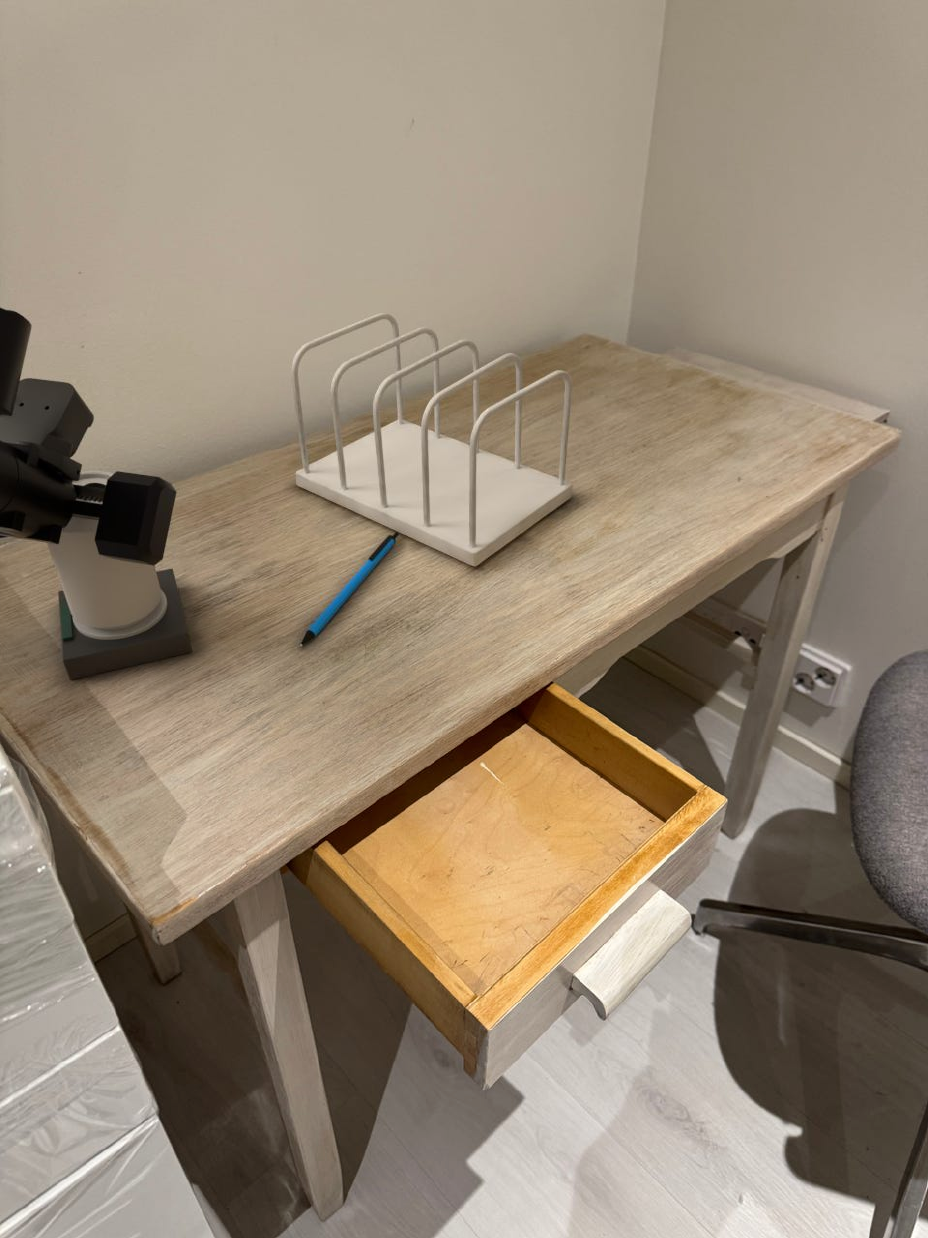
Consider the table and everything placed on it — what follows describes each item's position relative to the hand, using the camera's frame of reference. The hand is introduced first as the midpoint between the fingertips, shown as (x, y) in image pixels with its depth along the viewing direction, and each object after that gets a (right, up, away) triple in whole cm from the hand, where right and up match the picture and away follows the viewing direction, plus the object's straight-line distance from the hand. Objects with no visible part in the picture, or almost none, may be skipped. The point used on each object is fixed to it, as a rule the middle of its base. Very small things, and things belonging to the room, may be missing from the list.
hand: (109, 529), depth 74 cm
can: (0, -7, +3) cm, 7 cm away
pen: (+19, -5, +10) cm, 22 cm away
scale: (0, -8, +5) cm, 10 cm away
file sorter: (+26, +6, +24) cm, 36 cm away
